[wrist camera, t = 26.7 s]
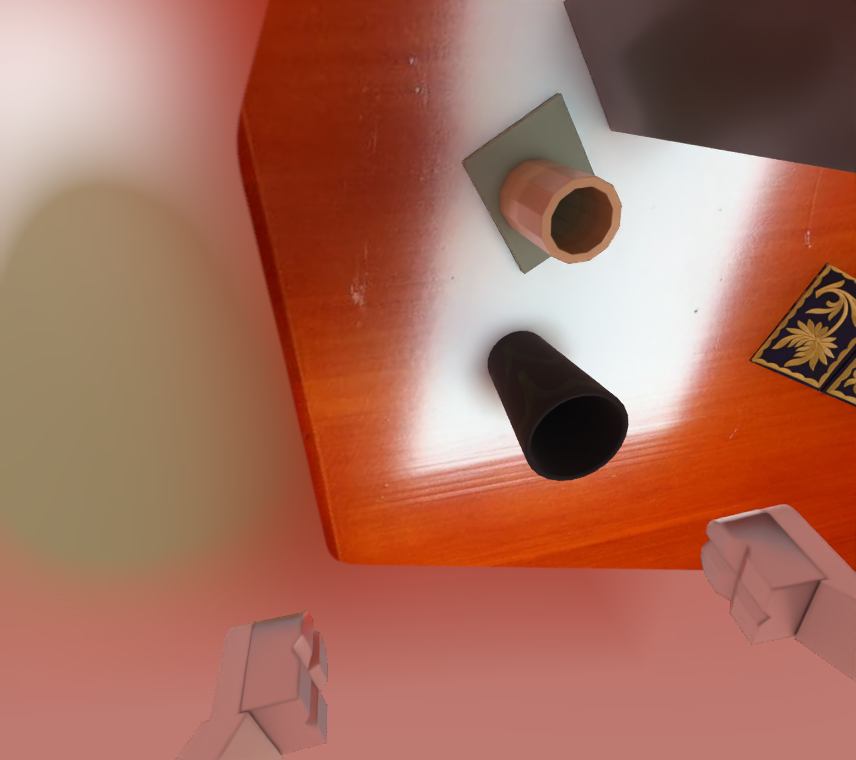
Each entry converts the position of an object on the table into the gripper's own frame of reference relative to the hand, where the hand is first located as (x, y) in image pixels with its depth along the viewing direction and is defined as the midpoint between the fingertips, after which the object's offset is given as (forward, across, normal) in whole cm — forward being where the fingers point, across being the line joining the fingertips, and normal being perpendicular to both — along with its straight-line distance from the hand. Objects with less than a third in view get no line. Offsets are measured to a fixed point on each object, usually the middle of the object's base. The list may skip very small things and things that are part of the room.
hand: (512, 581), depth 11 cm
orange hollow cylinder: (+32, -10, +3) cm, 34 cm away
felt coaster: (+33, -11, +3) cm, 35 cm away
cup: (+32, -8, +17) cm, 37 cm away
